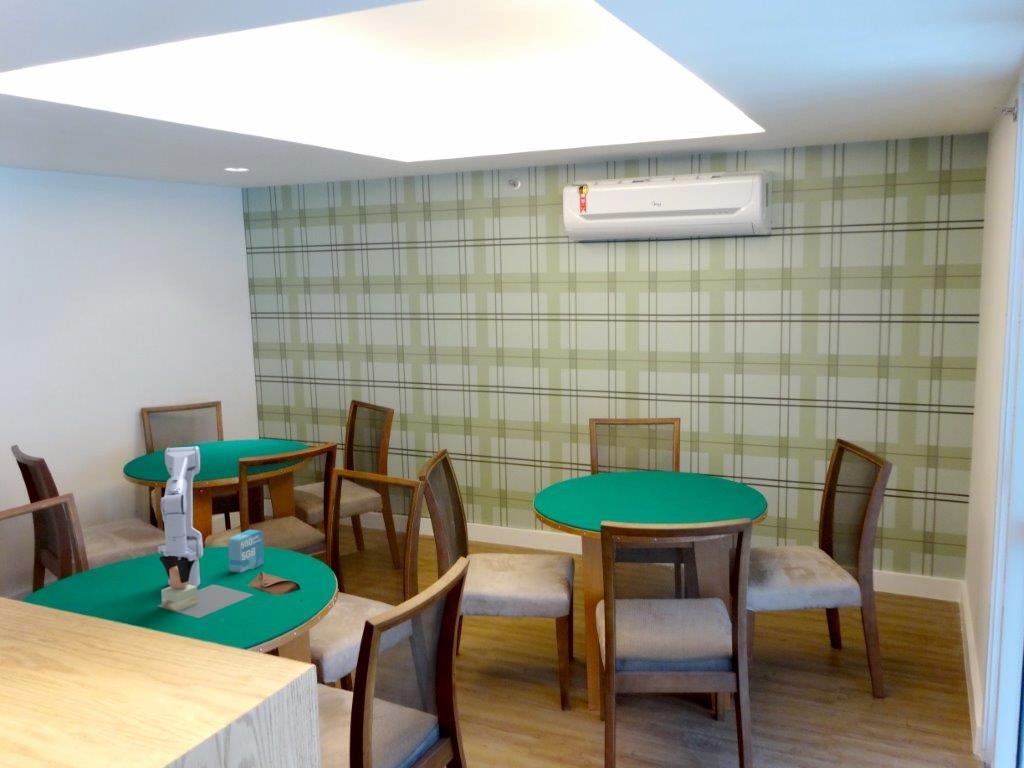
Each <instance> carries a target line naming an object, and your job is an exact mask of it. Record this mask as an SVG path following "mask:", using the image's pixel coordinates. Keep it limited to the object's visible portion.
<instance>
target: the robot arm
mask: <svg viewBox="0 0 1024 768" xmlns="http://www.w3.org/2000/svg"><path fill="white" fill-rule="evenodd" d="M164 463H165V467H166V469H167V472H168V475H170V478H168V479H167V481H166V484H165V491H164V496H163V497H161V499H160V512H161V515H162V522H163V525H164V537H165V539H164V540H165V541H164V542H165V545H164V544H162V545H160V546H157V553H158V554H162V556H159V559H158V560H159V561H160V562H161V564H162V566H163V567H164V570H165V572H166V574H167V581H168V582H167V583H168V586H170V574H169V569H170V568H171V567H174V566H177V567H178V570H179V575H180V581H181V583H185V582H187V581H189V584H190V585H193V586H197V587H199V585H200V584H201V577H200V575H201V574H200V561H199V559H201V558H202V557H203V555H204V543H203V542H204V541H203V535H202V533H201V532H200V531H199V530H197V528H194V526H193V525H194V523H193V522H194V520H193V518H194V517H193V515H194V513H193V507H194V506H193V505H194V503H193V493H194V491H193V482H194V477H195V476H196V475H197V474H200V470H201V452H200V447H199V446H197V445H195V446H182V447H181V446H180V447H167V448H166V449H165V451H164Z"/></svg>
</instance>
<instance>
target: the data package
mask: <svg viewBox="0 0 1024 768" xmlns="http://www.w3.org/2000/svg"><path fill="white" fill-rule="evenodd" d="M263 537H264V535H263V532H262V531H261V530H257V529H247V530H244V531H242V532H241V533H238V534H236V535H233V536H231V537H230V538H229V539H228V541H227V542H228V543H227V544H228V545H227V547H228V548H227V549H228V561H229V565H228V566H229V572H235V573H243V572H245V571H247V570H249V569H251V570H255V569H256V568H259V567H261V566H262V565H263V564H264V561H265V559H264V557H265V556H264V555H265V554H264V538H263Z"/></svg>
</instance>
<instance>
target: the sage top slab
mask: <svg viewBox="0 0 1024 768" xmlns="http://www.w3.org/2000/svg"><path fill="white" fill-rule="evenodd" d="M160 590H161V591H160V592H161V593H160V594H161V599H162V598H163V599H166V600H170V601H173V602H177V603H178V602H180V601H183V600H185V599H188V598H191V597H193V596H196V595H198V592H197V590H198V586H193V585H190V584H188V585H187V586H185V587H181V588H172V587H170V586H168V587H165V588H162V589H160Z"/></svg>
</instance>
